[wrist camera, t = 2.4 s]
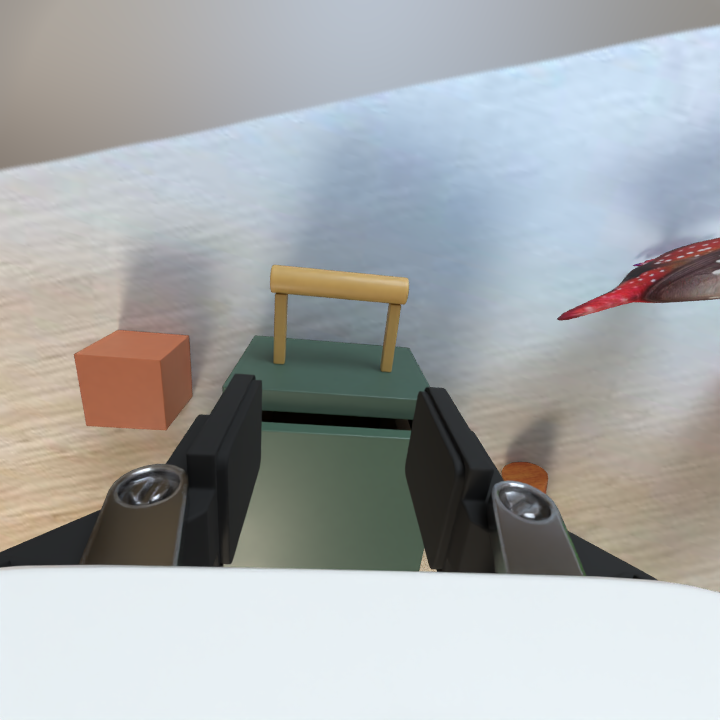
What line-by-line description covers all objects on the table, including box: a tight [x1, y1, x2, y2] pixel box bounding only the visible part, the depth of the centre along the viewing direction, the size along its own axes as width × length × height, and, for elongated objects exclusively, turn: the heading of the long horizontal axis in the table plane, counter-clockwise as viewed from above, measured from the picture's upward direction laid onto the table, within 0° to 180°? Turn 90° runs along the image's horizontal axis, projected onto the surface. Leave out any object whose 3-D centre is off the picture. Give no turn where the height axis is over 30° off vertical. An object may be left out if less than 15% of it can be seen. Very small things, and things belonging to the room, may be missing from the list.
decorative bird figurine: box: [557, 238, 720, 320], centre depth 21 cm, size 3×18×10 cm, turn 104°
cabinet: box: [223, 420, 424, 571], centre depth 25 cm, size 15×12×10 cm
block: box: [74, 330, 192, 430], centre depth 24 cm, size 5×5×5 cm
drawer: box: [222, 265, 430, 431], centre depth 23 cm, size 19×10×8 cm, turn 174°
